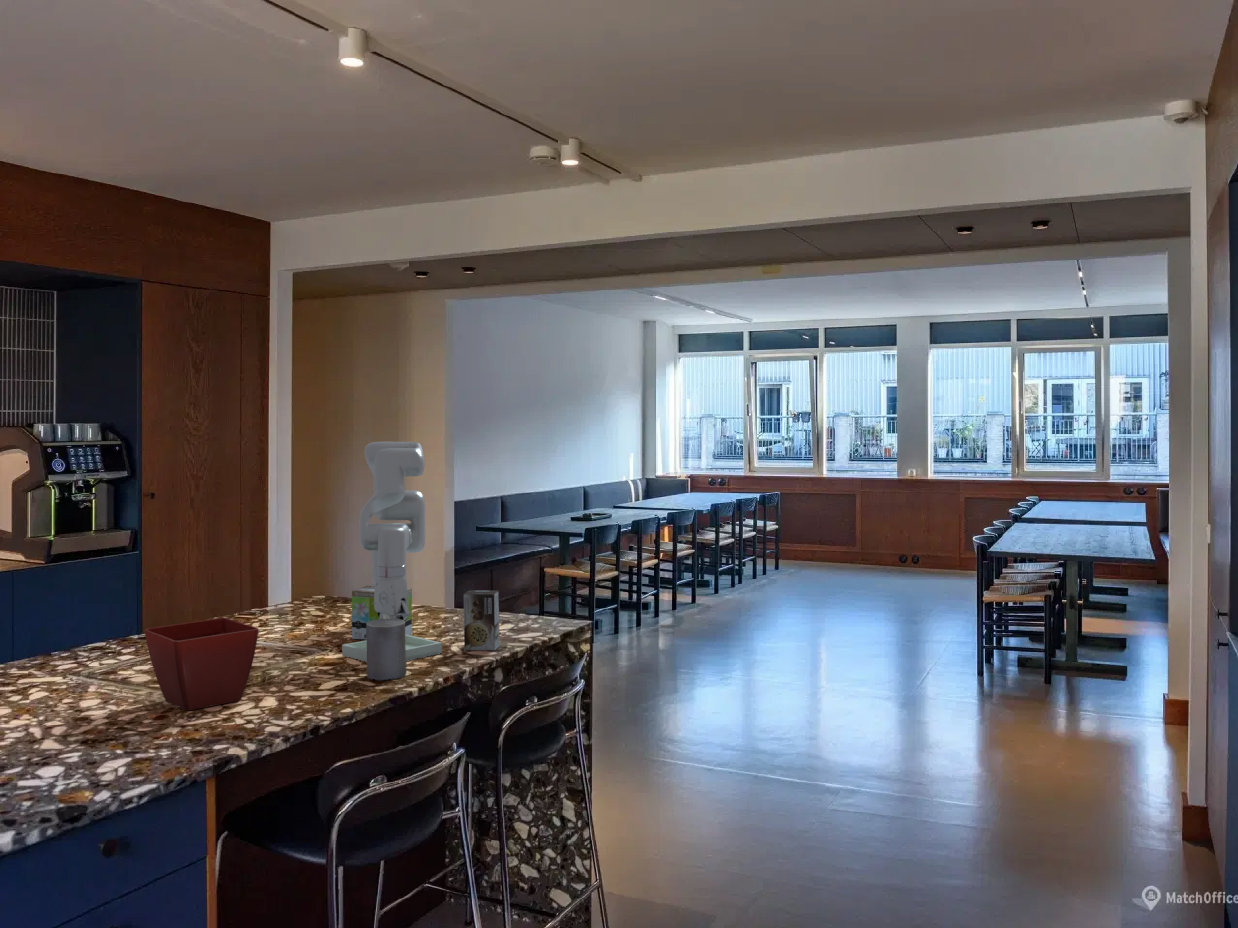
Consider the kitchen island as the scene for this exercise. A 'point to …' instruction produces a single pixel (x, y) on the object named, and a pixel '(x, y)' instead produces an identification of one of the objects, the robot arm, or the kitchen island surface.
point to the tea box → (371, 611)
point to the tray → (413, 644)
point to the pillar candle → (386, 649)
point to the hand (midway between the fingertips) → (392, 636)
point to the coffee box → (481, 620)
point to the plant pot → (202, 661)
